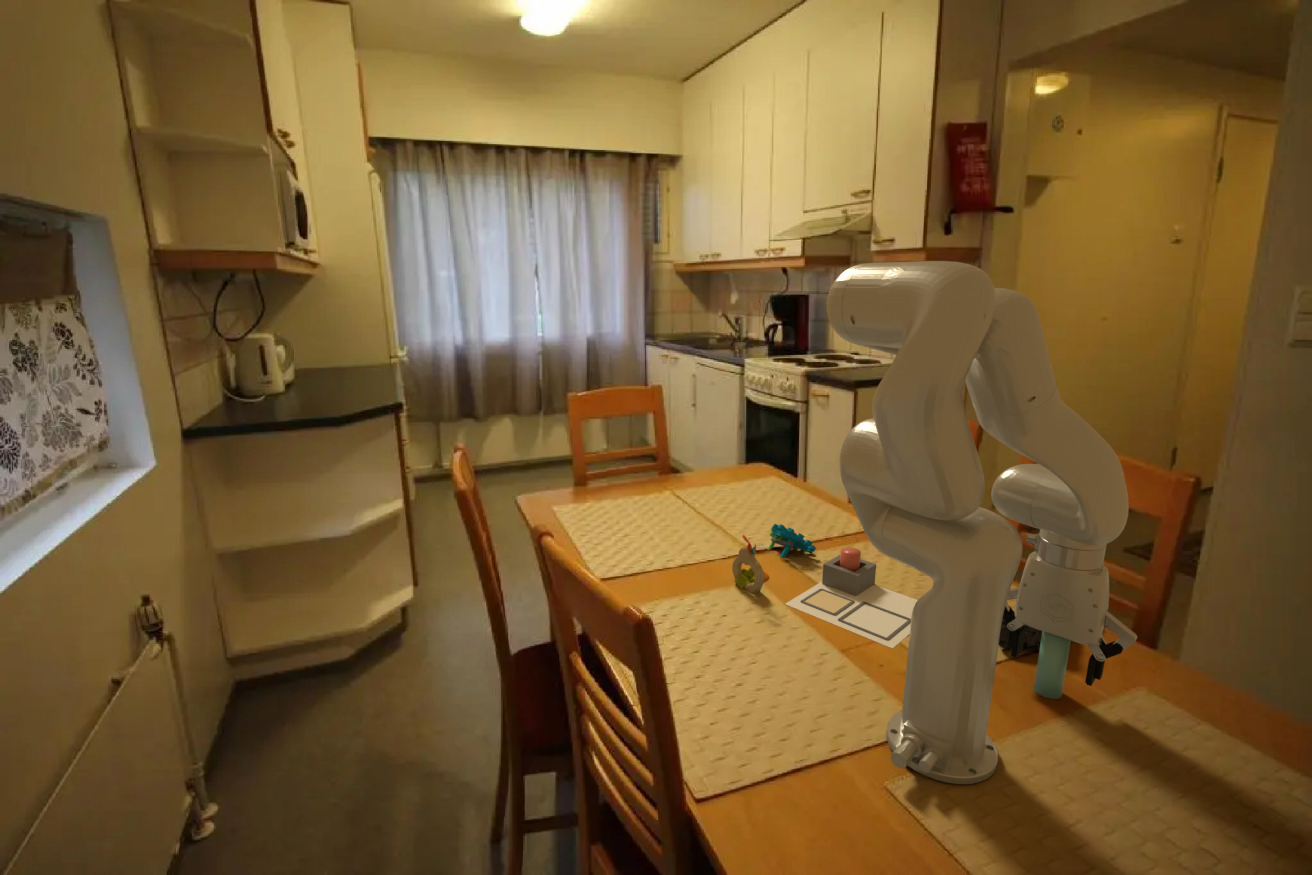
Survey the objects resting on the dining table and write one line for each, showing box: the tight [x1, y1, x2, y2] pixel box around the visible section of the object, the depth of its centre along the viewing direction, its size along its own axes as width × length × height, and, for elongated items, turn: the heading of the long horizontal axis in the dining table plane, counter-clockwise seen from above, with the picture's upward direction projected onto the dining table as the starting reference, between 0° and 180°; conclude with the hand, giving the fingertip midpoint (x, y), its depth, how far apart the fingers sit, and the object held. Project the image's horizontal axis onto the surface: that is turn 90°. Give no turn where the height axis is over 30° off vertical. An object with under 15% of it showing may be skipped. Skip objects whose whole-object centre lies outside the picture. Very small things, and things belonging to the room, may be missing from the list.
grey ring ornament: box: [731, 534, 770, 594], centre depth 121 cm, size 8×8×12 cm
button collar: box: [821, 554, 877, 596], centre depth 122 cm, size 7×7×4 cm
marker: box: [1033, 631, 1072, 700], centre depth 90 cm, size 4×4×11 cm
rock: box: [998, 618, 1042, 651], centre depth 103 cm, size 12×8×10 cm
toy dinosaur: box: [767, 523, 817, 559], centre depth 135 cm, size 11×6×10 cm
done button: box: [839, 546, 862, 572], centre depth 121 cm, size 4×4×5 cm
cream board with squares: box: [784, 581, 918, 650], centre depth 114 cm, size 18×20×1 cm
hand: (1052, 666), depth 90 cm, fingers open, 8 cm apart
